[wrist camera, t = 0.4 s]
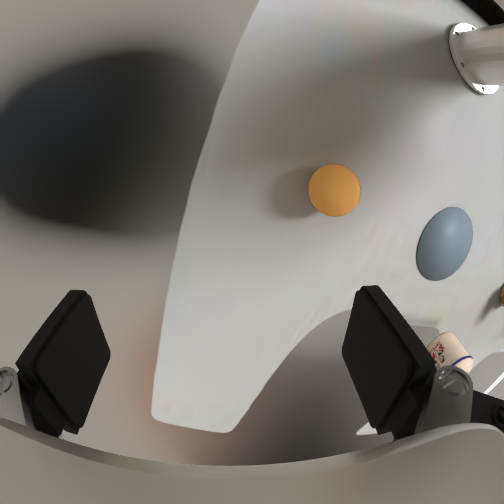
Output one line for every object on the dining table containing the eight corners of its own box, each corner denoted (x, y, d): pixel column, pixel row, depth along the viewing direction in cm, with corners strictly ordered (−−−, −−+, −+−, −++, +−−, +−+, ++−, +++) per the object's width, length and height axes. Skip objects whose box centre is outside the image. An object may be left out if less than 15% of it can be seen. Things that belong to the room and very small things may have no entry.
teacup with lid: (430, 334, 45) (458, 373, 35) (459, 327, 46) (486, 362, 35) (411, 373, 50) (431, 411, 40) (439, 365, 51) (460, 399, 40)
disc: (464, 192, 33) (465, 193, 33) (475, 254, 38) (476, 254, 38) (407, 234, 36) (408, 234, 36) (425, 293, 41) (426, 293, 40)
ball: (335, 152, 31) (353, 157, 26) (356, 192, 33) (377, 205, 28) (294, 177, 32) (304, 187, 27) (318, 216, 34) (332, 234, 29)
